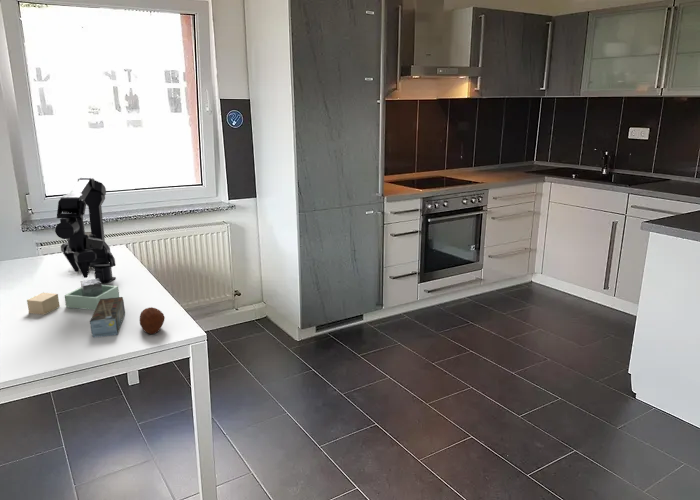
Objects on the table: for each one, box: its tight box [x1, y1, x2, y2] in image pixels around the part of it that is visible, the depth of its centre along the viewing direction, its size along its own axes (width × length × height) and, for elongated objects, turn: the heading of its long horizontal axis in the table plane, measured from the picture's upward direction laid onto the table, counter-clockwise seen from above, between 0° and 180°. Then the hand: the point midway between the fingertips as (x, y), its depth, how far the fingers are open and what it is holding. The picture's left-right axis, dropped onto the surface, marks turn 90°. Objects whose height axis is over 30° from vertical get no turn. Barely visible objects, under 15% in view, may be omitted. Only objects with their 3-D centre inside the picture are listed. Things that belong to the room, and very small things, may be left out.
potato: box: [139, 306, 166, 335], centre depth 171 cm, size 8×12×8 cm, turn 38°
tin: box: [80, 278, 103, 297], centre depth 194 cm, size 6×6×7 cm
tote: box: [64, 284, 120, 311], centre depth 194 cm, size 13×13×4 cm
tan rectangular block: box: [26, 292, 60, 315], centre depth 187 cm, size 8×6×5 cm
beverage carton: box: [89, 296, 126, 338], centre depth 175 cm, size 8×19×7 cm, turn 15°
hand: (81, 274), depth 190 cm, fingers open, 9 cm apart
